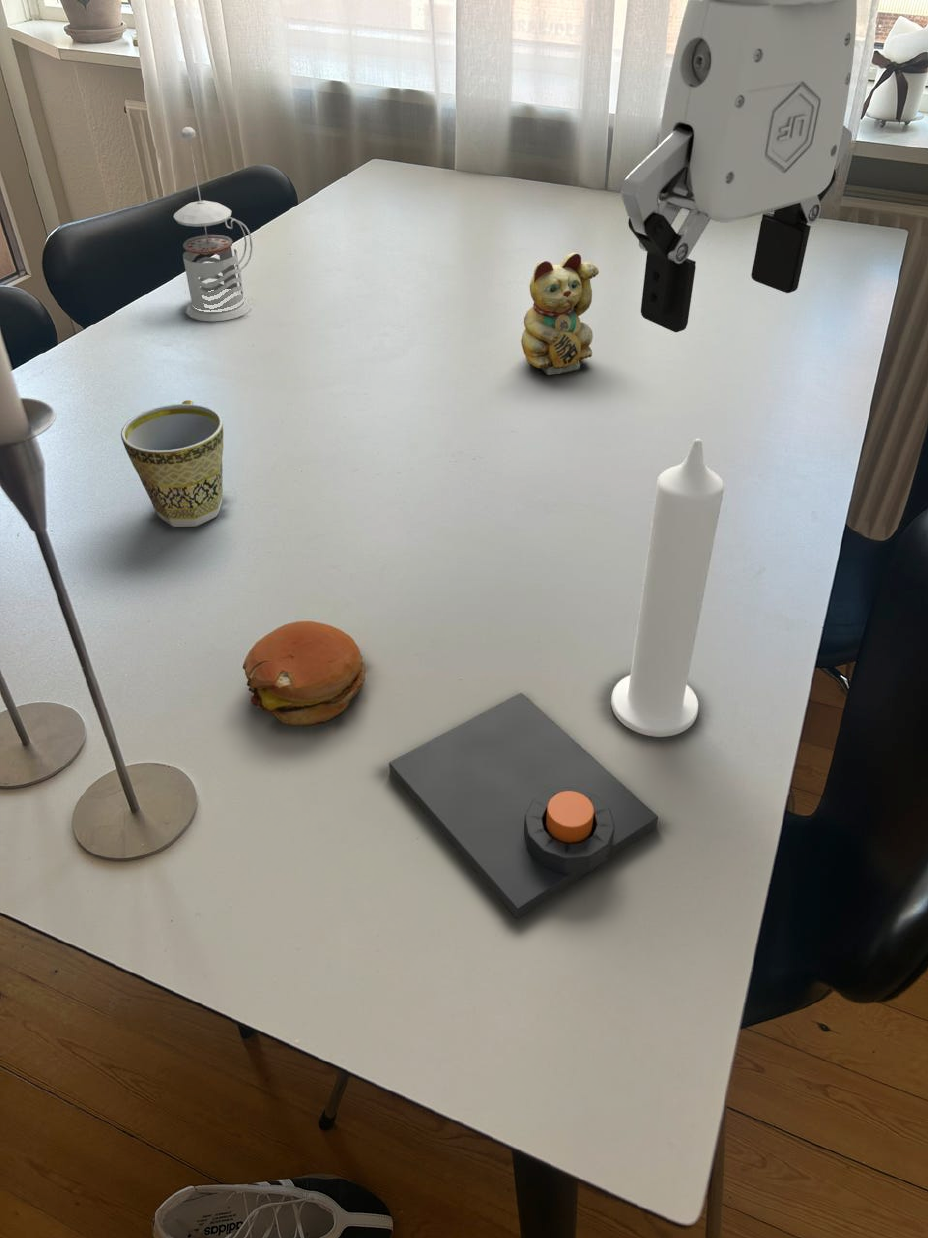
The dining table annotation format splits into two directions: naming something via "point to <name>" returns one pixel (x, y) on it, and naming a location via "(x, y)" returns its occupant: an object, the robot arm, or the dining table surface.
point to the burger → (304, 672)
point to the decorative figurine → (559, 315)
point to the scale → (519, 801)
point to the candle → (671, 600)
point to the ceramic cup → (178, 460)
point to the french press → (220, 245)
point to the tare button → (569, 816)
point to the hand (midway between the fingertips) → (720, 303)
